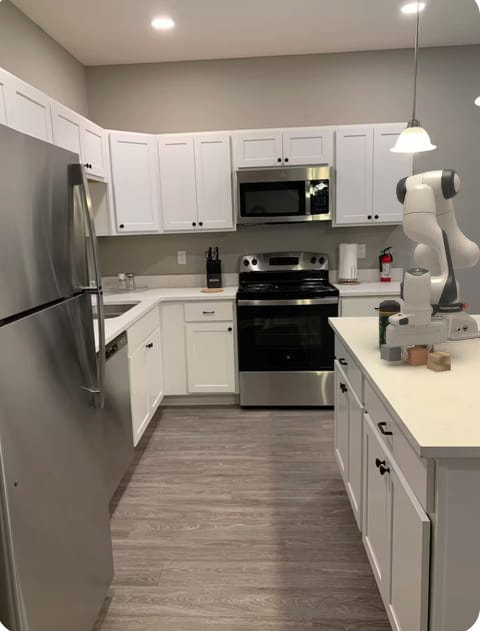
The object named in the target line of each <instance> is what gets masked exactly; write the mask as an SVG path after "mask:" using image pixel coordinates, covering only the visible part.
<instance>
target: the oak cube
mask: <svg viewBox="0 0 480 631" xmlns="http://www.w3.org/2000/svg"><path fill="white" fill-rule="evenodd" d="M451 364H452V354H448V353H446V352H444V351H436V352H435V351H434V353H428V358H427V365H426V366H427V367H426V369H429V370H432V371H434V372H436V373H439V372H440V373H441V372H446V371H447V370H448V371H451V368H452V366H451Z"/></svg>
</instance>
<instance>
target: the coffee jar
mask: <svg viewBox="0 0 480 631" xmlns="http://www.w3.org/2000/svg"><path fill="white" fill-rule="evenodd" d="M401 307H402V306H401V303H400V302H398V301H396V300H395V299H387V300H386V299H385V300H383V301H382V302H380V303H379V304H378V347H379V350H381V345H384V344H387V343H386V330H387V327H388V325H389V324H391V323H390V322H389V317H390V316H392V315H395V314H398V313H400V312H402V311H401Z"/></svg>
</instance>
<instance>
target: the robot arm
mask: <svg viewBox="0 0 480 631" xmlns="http://www.w3.org/2000/svg"><path fill="white" fill-rule="evenodd" d="M460 181H461V180H460V177H459V174H458V172H457V171H456V170H454V169H450V168H446V169H445V168H444V169H443V170H441V169H440V170H431V171H424V172H422V173H417V174H414V175H411V176H405V177H403V178H401V179H399V180H398V182H397V183H396V189H395V195H396V198H397V201H398V202H399V203H400V204H401V205H403V207H402V230H403V233H404V235H405V236H406V237H407V238H408V239H410V240H412V241H414V242H415V243H418V245H417V246H416V247H415V249H414V251H413V259H414V261H415V263H416V265H417V266H419V267H413V268H409V269H407V270H406V271H405V274H404V279H403V280H402V281H401V282H400V284H399V286H400V288H399V289H400V290H399V291H400V292H399V293H400V295H399V298H400V299H401V300H402V301H403V306H402V311H401V312H400V313H398V314H395V315H392V316H390V317H389V322H390V323H391V324H389V325H388V327H387V330H386V343H387V345H389V346H390V347H399V346H401V349H402V352H403V358H404V359H405V360H406V359H408V358H410V353H408V352H407V351H406V349H407V347H415V345H425V346H427V347H426V350H427V357H428V353H429V352H430V350H431V348H432V344H433V345H442V344H446V343H447V341H448V340H450V341H458V340H468V339H474V338H475V339H476V338H480V330H479V326H478V322H477V320H476V319H475V318H473V317H472V315H471V316H470V314H468V313H467V312H465V311H464V309H468V308H469V304H468V303H466V302H461V301H460V289H461V288H460V283H459V282H458V280H457V279H456V275H455V271H454V269H456V270H457V269H459V270H461V269H466V268H473V267H474V266H475V265H476V264H477V263H478V262H479V260H480V248H479V246H478V244H477V243H476V242H474V241H472V240H470V239H469V238H468V237H466V236H465V235H464V233H462V231H461V230H460V228H459V226H458V222H457V219H456V215H455V208H454V204H453V200H452V198H454V197H456V196H457V195H458V193H459V190H460V186H461V182H460Z"/></svg>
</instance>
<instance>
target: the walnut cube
mask: <svg viewBox="0 0 480 631" xmlns="http://www.w3.org/2000/svg"><path fill="white" fill-rule="evenodd" d="M414 347H422V348H424V349H426V347H427V346H425V345H414ZM434 347H435V344H432V348H431V350H430V352H429V353H434V352H435V351H434V350H435V348H434ZM427 358H428V357H427Z"/></svg>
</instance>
